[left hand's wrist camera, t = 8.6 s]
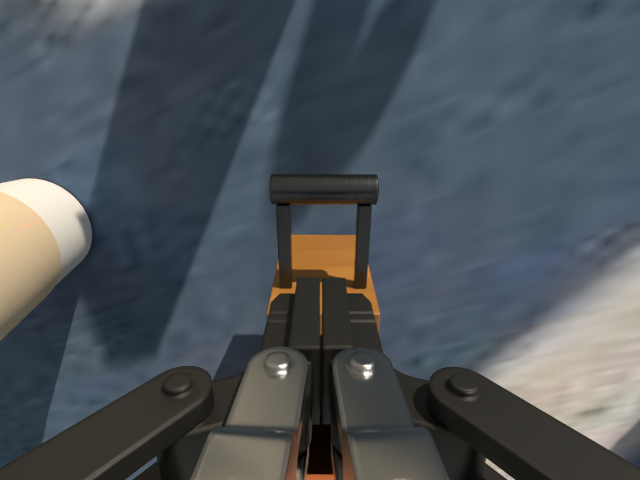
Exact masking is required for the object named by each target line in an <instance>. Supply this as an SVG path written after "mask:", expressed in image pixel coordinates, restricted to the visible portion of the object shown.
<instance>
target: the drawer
mask: <svg viewBox="0 0 640 480" xmlns="http://www.w3.org/2000/svg"><path fill="white" fill-rule="evenodd" d="M378 191H379V184H378V177H377V175H355V174H272V175H271V177H270V199H271V203H272V204H277V205H276V214H277V237H278V262H277V267H276V272H275V277H274V281H273V286H272V291H271V296H270V300H269V305H268V310H267V318H268V314H269V309H270V305H271V302H272V301H273V300H274V299H275V298H276V297H277V296H278V295H279V294H280V293H295V290H296V282H297V278H320V424H312V437H311V442H310V445H309V459H308V468H307V474H333V468H332V459H331V424H323V412H322V278H345V281H346V289H347V293H362V294H363V295H364V296H365V297H366V298H367V299H368V300H369V301H370V302H371V304H372V308H373V314H374V317H375V323H376V325H377V330H378V334H379V324H380V311H379V307H378V303H377V299H376V294H375V290H374V286H373V282H372V278H371V274H370V269H369V265H368V256H369V240H370V225H371V209H372V207H371V205H375V204H376V203H377V200H378ZM291 204H357V216H356V235H291Z"/></svg>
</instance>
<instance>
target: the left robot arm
mask: <svg viewBox="0 0 640 480" xmlns="http://www.w3.org/2000/svg"><path fill="white" fill-rule="evenodd" d="M322 412H323V424H331V459H332V468H333V476H334V480H507V479H506V478H504V477H503V476H502V475H500V474H499V473H498V472H496V471H495V470H494V469H492V468H491V467H490V466H489V465H487V464H486V463H485V461H486V458H487V459H489V460H490V461H491V462H493V463H494V464H495V465H497V466H498V467H499V468H501V469H502V470H503V471H505V472H506V473H507V474H509V475H510V476H511V477H512V478H514V479H515V480H640V468H638V467H637V466H635V465H633V464H632V463H630V462H628V461H626V460H625V459H623V458H621V457H620V456H618V455H616V454H615V453H613V452H611V451H609V450H608V449H606V448H604V447H603V446H601V445H599V444H598V443H596V442H594V441H593V440H591V439H589V438H587V437H586V436H584V435H582V434H581V433H579V432H577V431H576V430H574V429H572V428H570V427H569V426H567V425H565V424H564V423H562V422H560V421H559V420H557V419H555V418H553V417H552V416H550V415H548V414H547V413H545V412H543V411H542V410H540V409H538V408H537V407H535V406H533V405H531V404H530V403H528V402H526V401H525V400H523V399H521V398H520V397H518V396H516V395H514V394H513V393H511V392H509V391H508V390H506V389H504V388H503V387H501V386H499V385H497V384H496V383H494V382H492V381H491V380H489V379H487V378H486V377H484V376H482V375H480V374H479V373H477V372H474V371H472V370H469V369H465V368H460V367H446V368H442V369H439V370H437V371H436V372H434V373H433V374H432V376H431V378H430V381H428V380H423V379H419V378H415V377H411V376H408V375H405V374H403V373H401V372H399V371H397V370H396V369H394V368H393V365H392V363H391V361H390V359H389V358H388V357H387V356H386V355H385V354H383V351H382V346H381V342H380V338H379V334H378V330H377V325H376V323H375V317H374V314H373V308H372V304H371V302H370V301H369V300H368V299H367V298H366V297H365V296H364V295H363V294H362V293H347V289H346V281H345V278H322ZM312 424H320V278H297V282H296V290H295V293H280V294H279V295H278V296H277V297H276V298H275V299H274V300H273V301H272V302H271V305H270V309H269V314H268V318H267V323H266V327H265V331H264V336H263V340H262V344H261V349H260V352H258V353H257V354H255V355H254V356H253V357H252V358H251V359H250V361H249V363H248V365H247V368H246V371H244V372H242V373H240V374H238V375H235V376H232V377H229V378H224V379H220V380H216V381H212V378H211V376H210V374H209V373H208V372H207V371H206V370H204V369H202V368H199V367H195V366H182V367H176V368H173V369H170V370H167V371H165V372H163V373H161V374H159V375H158V376H156V377H154V378H153V379H151V380H149V381H148V382H146V383H144V384H143V385H141V386H139V387H137V388H136V389H134V390H132V391H131V392H129V393H127V394H126V395H124V396H122V397H120V398H119V399H117V400H115V401H114V402H112V403H110V404H109V405H107V406H105V407H103V408H102V409H100V410H98V411H97V412H95V413H93V414H92V415H90V416H88V417H87V418H85V419H83V420H81V421H80V422H78V423H76V424H75V425H73V426H71V427H70V428H68V429H66V430H64V431H63V432H61V433H59V434H58V435H56V436H54V437H53V438H51V439H49V440H47V441H46V442H44V443H42V444H41V445H39V446H37V447H36V448H34V449H32V450H31V451H29V452H27V453H25V454H24V455H22V456H20V457H19V458H17V459H15V460H14V461H12V462H10V463H8V464H7V465H5V466H3V467H2V468H0V480H125V479H126V478H128V477H129V476H130V475H132V474H133V473H134V472H136V471H137V470H138V469H140V468H141V467H142V466H143V465H145V464H146V463H147V462H149V461H150V460H151V459H153V458H154V457H155V456H157V462H155V463H154V464H153V465H151V466H150V467H149V468H148V469H146V470H145V471H144V472H142V473H141V474H140V475H138V476H137V477H136V478H134V479H133V480H306V476H307V468H308V459H309V445H310V442H311V437H312Z"/></svg>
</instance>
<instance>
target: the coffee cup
mask: <svg viewBox="0 0 640 480" xmlns="http://www.w3.org/2000/svg"><path fill="white" fill-rule="evenodd" d="M91 243H92V229H91V224H90V221H89V218H88V216H87V214H86V212H85V210H84V209H83V207H82V206H81V205H80V203H79V202H78V201H77V200H76V199H75V198H74V197H73V196H72V195H71V194H70V193H68V192H67V191H66V190H64V189H63V188H61V187H59V186H57V185H55V184H53V183H51V182H48V181H44V180H40V179H20V180H15V181H10V182H5V183H0V341H1V340H2V339H3V338H4V337H5V336H6V335H7V334H8V333H9V332H10V331H11V330H12V329H13V328H14V327H16V326H17V325H18V324H19V323H20V322H21V321H22V320H23V319H24V318H25V317H26V316H27V315H28V314H29V313H30V312H31V311H32V310H33V309H34V308H35V307H36V306H37V305H38V304H39V303H40V302H41V301H42V300H43V299H44V298H45V297H46V296H47V295H48V294H49V293H50V292H51V291H52V290H53V289H54V287H55V286H56V285H57V284H58V283H59V282H60V281H61V280H62V279H63V278H64V277H65V276H66V275H67V274H68V273H70V272H71V271H72V270H73V269H74V268H75V267H76V266H77V265H78V264H79V263H80V262H81V261H82V260H83V259H84V258H85V257H86V255H87V254H88V252H89V250H90V247H91Z"/></svg>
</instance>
